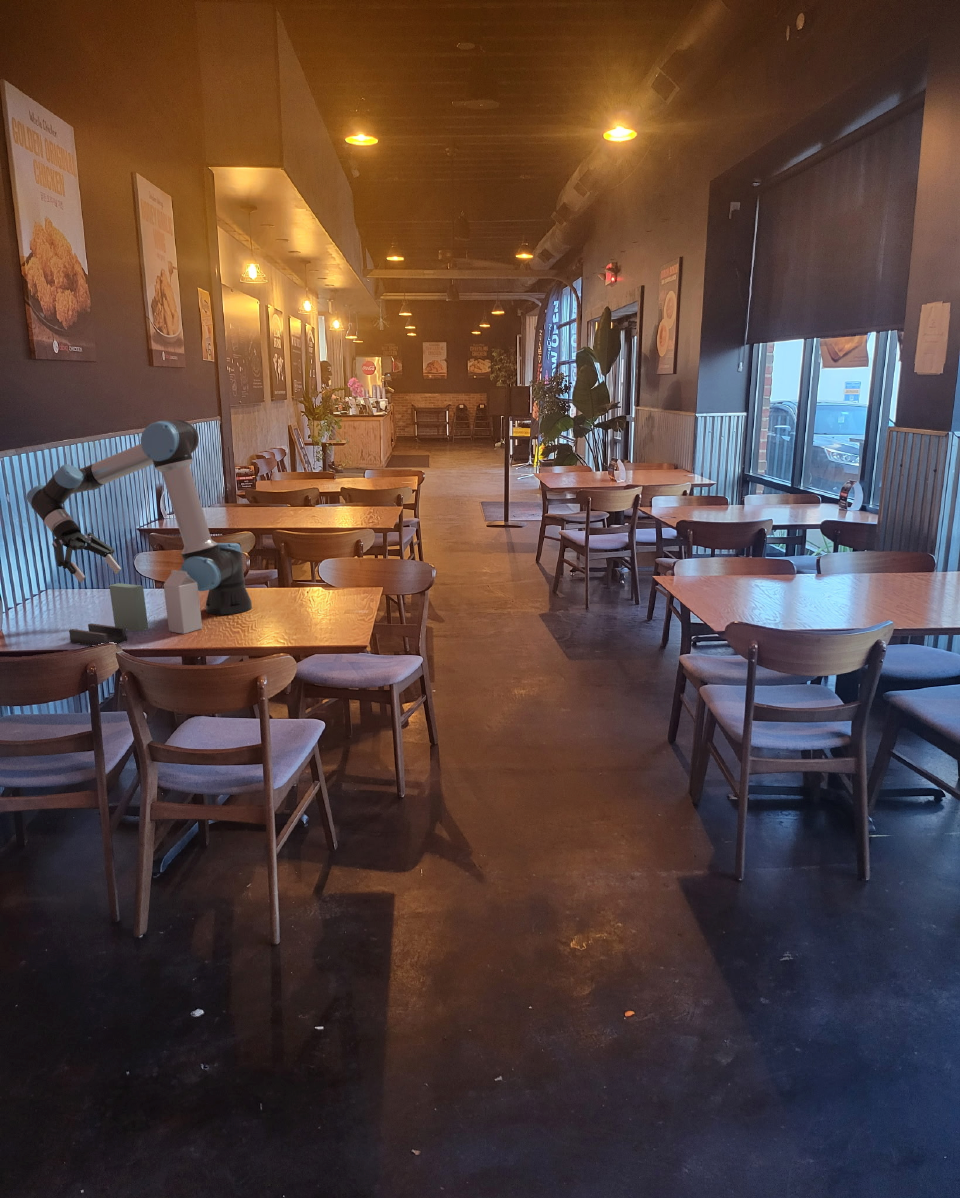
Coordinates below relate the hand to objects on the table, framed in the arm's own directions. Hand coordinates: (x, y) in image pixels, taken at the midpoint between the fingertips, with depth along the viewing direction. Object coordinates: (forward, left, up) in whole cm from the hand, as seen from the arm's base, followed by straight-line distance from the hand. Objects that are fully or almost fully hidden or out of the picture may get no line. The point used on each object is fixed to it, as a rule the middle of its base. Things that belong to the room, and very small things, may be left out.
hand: (101, 575), depth 270 cm
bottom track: (-9, +18, -16) cm, 26 cm away
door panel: (-10, +3, -16) cm, 20 cm away
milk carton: (-29, +3, -17) cm, 34 cm away
